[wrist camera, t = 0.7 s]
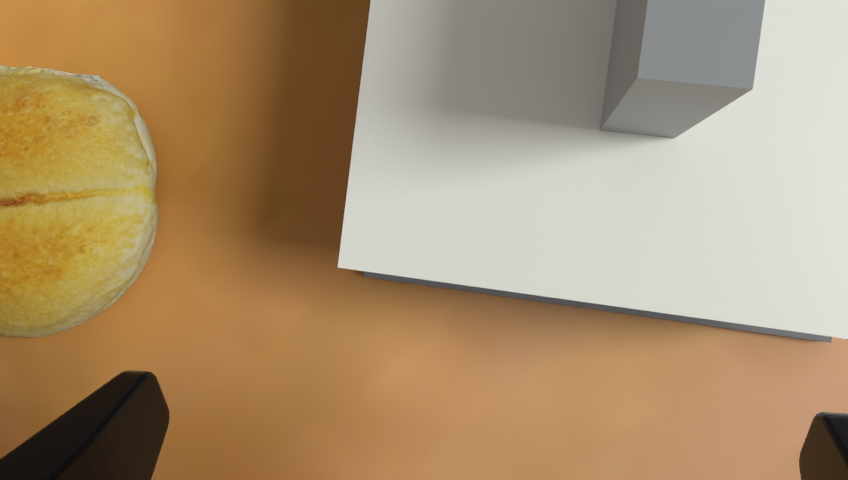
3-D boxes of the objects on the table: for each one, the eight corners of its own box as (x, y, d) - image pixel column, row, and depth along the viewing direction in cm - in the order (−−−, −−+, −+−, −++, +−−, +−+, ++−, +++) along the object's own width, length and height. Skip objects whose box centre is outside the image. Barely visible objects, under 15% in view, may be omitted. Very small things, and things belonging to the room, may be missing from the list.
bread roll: (-50, 323, 25) (-156, 339, 22) (-39, 72, 25) (-144, 43, 21) (166, 341, 24) (95, 363, 20) (179, 78, 24) (110, 48, 20)
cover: (809, 315, 21) (1146, 416, 9) (387, 258, 22) (246, 285, 11) (872, -121, 20) (1303, -560, 9) (438, -144, 22) (345, -535, 11)
